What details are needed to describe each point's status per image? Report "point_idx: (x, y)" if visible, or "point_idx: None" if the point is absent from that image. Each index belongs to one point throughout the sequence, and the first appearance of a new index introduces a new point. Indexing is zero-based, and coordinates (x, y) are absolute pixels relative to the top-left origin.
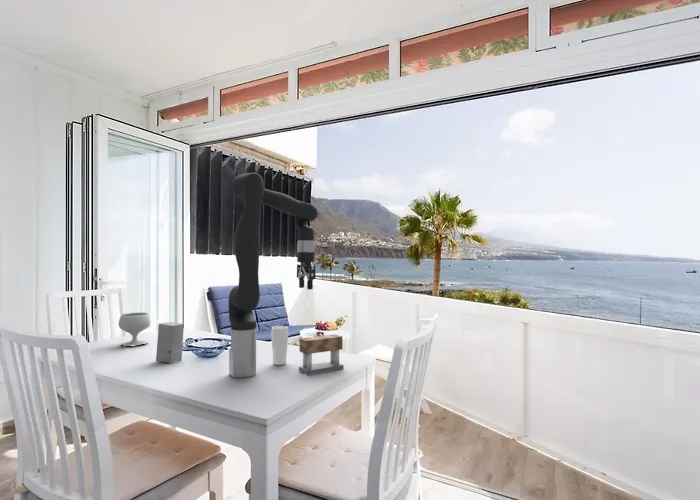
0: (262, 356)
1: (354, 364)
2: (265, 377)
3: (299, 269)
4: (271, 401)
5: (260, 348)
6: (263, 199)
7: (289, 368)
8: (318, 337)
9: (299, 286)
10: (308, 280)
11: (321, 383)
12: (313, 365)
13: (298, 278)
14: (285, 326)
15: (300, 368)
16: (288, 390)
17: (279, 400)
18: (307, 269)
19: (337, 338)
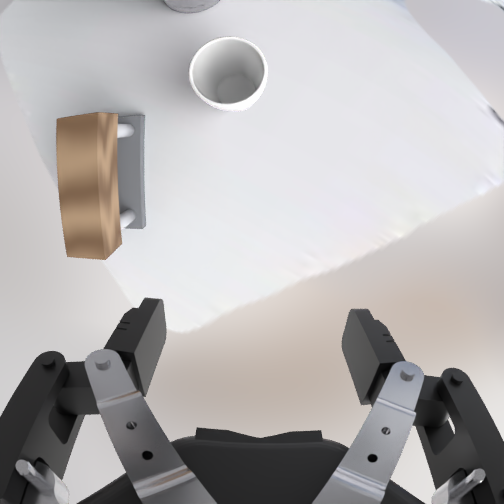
0: (351, 90)
1: (127, 267)
2: (139, 26)
3: (463, 467)
4: (24, 27)
5: (438, 139)
6: None
7: (175, 99)
8: (80, 180)
9: (360, 312)
10: (126, 362)
11: (43, 131)
12: (129, 155)
13: (414, 366)
14: (237, 102)
15: (131, 116)
16: (44, 59)
17: (20, 40)
18: (100, 490)
19: (66, 237)
